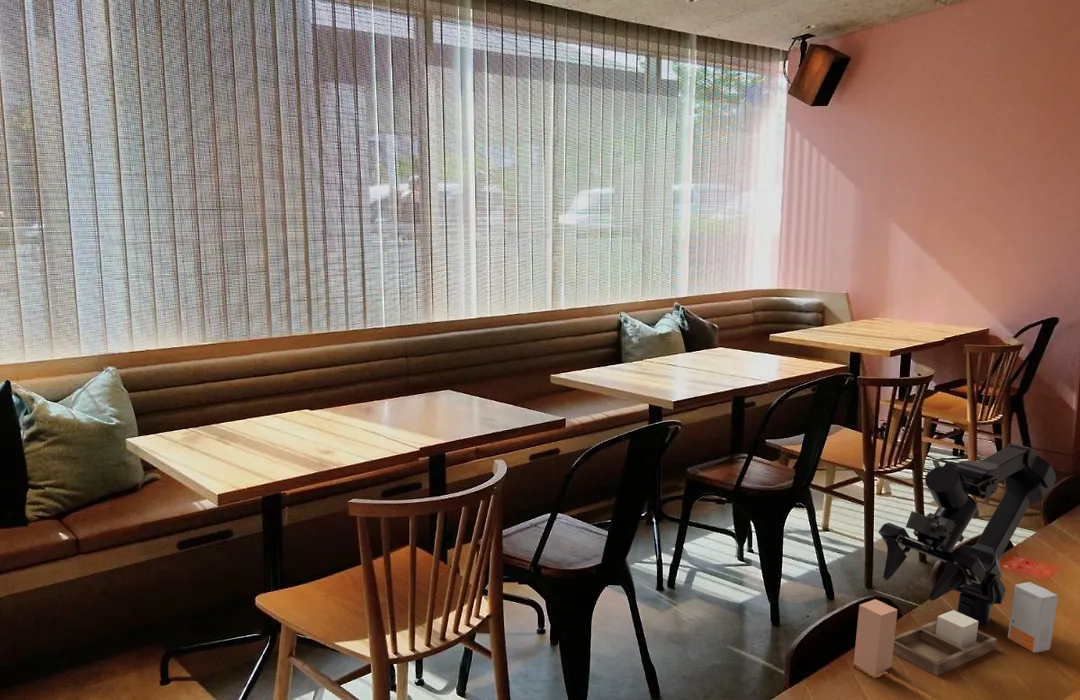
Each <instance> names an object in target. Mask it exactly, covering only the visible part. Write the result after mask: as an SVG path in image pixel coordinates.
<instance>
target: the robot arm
mask: <svg viewBox="0 0 1080 700" xmlns="http://www.w3.org/2000/svg"><path fill="white" fill-rule="evenodd" d="M1056 478H1057V475H1056V472H1055V470H1054V469H1053V467H1052V465H1051V464H1050V463H1049V462H1048V461H1046V460H1045V459H1043V458H1042V457H1041V456H1040V455H1038V454H1037V452H1036V450H1035V449H1033V448H1031V447H1028V446H1023V445H1020V444H1015V443H1010V444H1009V443H1007V444H1006V445H1005V446H1004V448H1002V449H1001V450H998V451H997V452H994V453H993V454H991V455H989V456H987V457H985V458H983V459H981V460H962V461H958V462H957V463H953V462H949V461H946V462H944V464H943V466H937V467H934V468H932V469H931V470H930V471H928V472H927V473H926V475H925V479H924V483H925V485H926V488H928V491H929V492H930V495H931V496H932V498H933V500H934V502H935V503H936V504H937V506H938V507H937V508H936V510H935V512H934V513H931V512H929V513H927V515H924V514H921V513H919V512H915V511H911V512H910V514H909V516H908V520H907V523H906V525H905V527H906V528H907V529H910V530H914V531H913V532H912V533H913V535H914V536H915V537H917V539H916V538H912V537H911V536H910V535H909V533H908V532H907V531H906V528H904V527H903V526H902V527H901V526H900V525H897V524H894V523H891V522H885V523H884V524H881V527H880V528H879V530H878V534H879V535H880V536H881V538H882V541H883V542H884V543H885V545H886V547H887V551H886V560H885V567H884V572H883V580H885V581H886V582H887V581H888V580H890V579H891V578H892V577H893V576H894V574H895V573H896V572H897V571H898V570H899V568H900V567H901V565H902V564H903V563H904V561H905V560H906V559H907V557H908V556H907V554H906V553H908V552H910V551H911V550H913V551H916V552H919V553H921V554H924V555H927V556H929V557H931V558H934V559H936V560H939V561H941V562H943V563H945V567H944V571H943V572H942V574H941V576H940V577H939V578H938V579H937V582H936V583H935V585H934V586H933V588H932V589H931V591H930V593H929V596H928V599H929V600H930V601H931V602H934V601H935V600H937V599H939V598H940V597H942V596H944V595H946V594H948V593H949V592H951V591H956V592H958V593H959V597H958V603H957V612H959V613H961V614H963V615H966V616H968V617H970V618H972V619H975V620H977V621H978V627H979V626H980V627H983V626H987V625H989V623H990V618H991V610H992V606H994V605H1001V604H1003V599H1004V597H1005V595H1006V594H1005V593H1006V587H1005V585H1004V584H1003V582H1002V580H1001V577H1002V572H1001V567H1000V566H1001V565H1000V559H1001V557H1002V555H1003V553H1004V552H1005V549H1006V548H1007V547H1008V545H1009V542H1010V541H1011V539H1012V537H1013V535H1014V533H1015V532H1016V530H1017V528H1018V526H1019V524H1020V522H1021V521H1022V519H1023V517H1024V515H1025V513H1026V512H1027V510H1028V509H1029V506H1031V504H1034V503H1037V502H1038V501H1041V500H1043V499H1044V498H1045V497H1046V495H1047V494H1048V493H1049V491H1050V489H1052V488H1054V485H1055V483H1056V480H1057V479H1056ZM1002 480H1004V482H1005V487H1006V491H1005V492H1004V493H1003V496H1002V498H1001V499H1000V501H999V502H998V505H997V506H996V507H995V510H994V512H993V514H992V515H991V516H990V519H989V520H988V523H986V526H985V527H984V528H983V531H982V532H981V535H980V536H979V538H978V539H977V542H976V543H975V544H974V545H972V546H970V545H967V544H964V545H963V546H961V548H958V549H955V550H954V551H953V549H954V548H955V547H956V544H958V542H959V543H963V541H964V539H965V537H964V535H963V533H965V530H966V529H967V527H968V525H969V524H970V522H971V521H972V519H973V517H975V518H978V517H979V516H980V515H979V514H980V510H979V509H978V508H979V507H978V502H977V501H975V499H974V498H973V497H976V498H980V499H982V500H983V499H984V500H986V499H989V498H990V497H991V496H993V495H994V494H995V493H996V492H997V491H998V488H999V482H1001V481H1002Z"/></svg>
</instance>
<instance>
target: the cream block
mask: <svg viewBox="0 0 1080 700" xmlns="http://www.w3.org/2000/svg"><path fill="white" fill-rule="evenodd" d="M936 620H937V627H936V635H937V636H939V637H941V638H943V639H945V640H948V641H950V642H952V643H954V644H956V645H958V646H960V647H962V648H964V649H967V648H969V647H971V646H974V645H976V637H977V630H979V629H978V627H979V626H978V621H977V620H975V619H972V618H970V617H968V616H966V615H963V614H961V613H959V612H957V611H956V610H954V609H953V610H950V611H947V612H945V613H942V614H940V615H938V616H937V619H936Z"/></svg>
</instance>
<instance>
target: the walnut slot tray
mask: <svg viewBox="0 0 1080 700" xmlns="http://www.w3.org/2000/svg"><path fill="white" fill-rule="evenodd" d="M936 627H937V619H935V620H934V621H929V622H927V623H924V624H923V625H920V626H918V627H915V628H912V629H911V630H906V631H905V632H902V633H900V634H897V635H895V638H894V647H893V655H894V654H895V655H896V656H898V657H900V658H902V659H904V660H906V661H908V662H909V663H911V664H913V665H915V666H917V667H919V668H921V669H923V670H925V671H926V672H929V673H931V674H933V675H934V676H937V677H938V676H939V675H941V674H943V673H946V672H949V671H951V670H952V669H953V670H954V669H955V668H957V667H959V666H961V665H964V664H966V663H968V662H970V661H973V660H975V659H977V658H980V657H981V656H983V655H985V654H988V653H990V652H993V651H995V650H996V648H997V641H998V639H997V638H995V637H994V636H991V635H989V634H987V633H984V632H982V631H980V630H979V629H977V637H976V645H974V646H971V647H969V648H967V649H964V648H962V647H960V646H958V645H956V644H954V643H952V642H950V641H948V640H945V639H943V638H941V637H939V636H937V635H936Z"/></svg>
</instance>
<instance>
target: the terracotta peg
mask: <svg viewBox="0 0 1080 700" xmlns="http://www.w3.org/2000/svg"><path fill="white" fill-rule="evenodd" d="M857 616H858V617H857V626H856V635H855V636H856V637H855V646H854V656H853V665H854V664H856V665H857V666H859V667H860V668H862V669H864V670H865V671H867V672H869V673H870V674H873V675H875V676H876V675H879V674H881V673H884V672H886V671H887V670H888V669H890V668H892V665H893V655H894V653H893V647H894V638H895V636H896V629H897V617H898V609H897V608H896V607H892V606H891V605H888V604H887V603H885V602H883V601H880V600H879V599H871V600H869V601H866V602H864V603H860V604H859V607H858V615H857Z"/></svg>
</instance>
